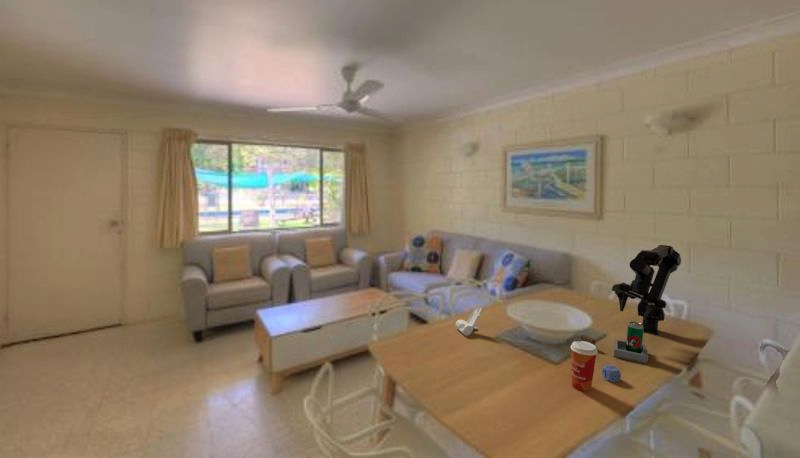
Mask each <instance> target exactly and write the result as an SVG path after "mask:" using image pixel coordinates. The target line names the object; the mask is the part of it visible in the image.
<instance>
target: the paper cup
mask: <svg viewBox="0 0 800 458" xmlns="http://www.w3.org/2000/svg"><path fill="white" fill-rule="evenodd" d="M570 349H571V357H570V358H571V368H570V369H571V387H573V389H575V390H577V391H580V392H585V393H586V392H590V391H592V384H593V381H594V371H595V366H596V358H597V354H598V353H599V352H598V350H597V347H596V344H595V345H593V344H591V343H589V342H585V341H580V340H577V341H576V340H575V341H573V342H572V343H571V345H570Z"/></svg>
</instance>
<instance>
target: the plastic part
mask: <svg viewBox="0 0 800 458" xmlns="http://www.w3.org/2000/svg"><path fill="white" fill-rule="evenodd" d="M483 311H484V307H481V305H479V304H478V303H477V304H476V305H475V307H474V309H473V312H471V314H470V315H469V317H468V320H464V319H458V320H457V321H456V322H455V329H457V330H458V331H459V332H461V334H463V335H464V336H466V337H467V336H470V335H471V334H472V332H473V330H478V329H479V328H478V327H477V325H476V324H477V322H478V320H479V318H480V317H481V314H482V313H483Z"/></svg>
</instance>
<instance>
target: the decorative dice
mask: <svg viewBox="0 0 800 458" xmlns="http://www.w3.org/2000/svg"><path fill="white" fill-rule="evenodd" d="M601 374H602V377H603V378H604V379H605V380H606V381H608V382H610V383H617V382H619V381H620V379H621V377H622V373H621V371H620V369H619V368H618V367H617V366H616V365H615V366H614V365H612V364H611V365H610V364H607V365H604V366H603V367H602V368H601Z"/></svg>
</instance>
